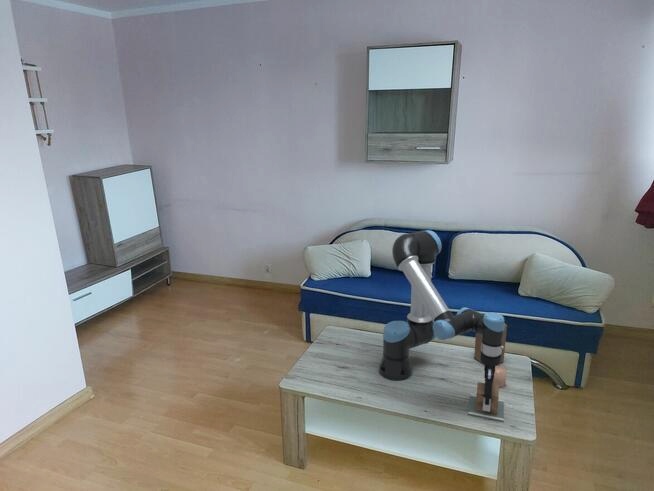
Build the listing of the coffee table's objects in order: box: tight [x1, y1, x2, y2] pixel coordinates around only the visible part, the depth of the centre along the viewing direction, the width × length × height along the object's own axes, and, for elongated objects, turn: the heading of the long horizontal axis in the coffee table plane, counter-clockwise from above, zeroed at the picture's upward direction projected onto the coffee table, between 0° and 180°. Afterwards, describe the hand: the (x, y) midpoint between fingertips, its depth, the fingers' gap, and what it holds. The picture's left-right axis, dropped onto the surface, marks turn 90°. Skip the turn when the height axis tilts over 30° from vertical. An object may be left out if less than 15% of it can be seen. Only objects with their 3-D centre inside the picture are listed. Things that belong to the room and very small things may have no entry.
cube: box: [475, 381, 500, 415], centre depth 173 cm, size 8×8×8 cm
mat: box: [467, 394, 505, 423], centre depth 174 cm, size 13×13×1 cm
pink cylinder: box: [492, 365, 507, 389], centre depth 190 cm, size 6×6×7 cm
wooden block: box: [473, 322, 508, 365], centre depth 206 cm, size 10×10×20 cm
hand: (486, 403), depth 173 cm, fingers open, 8 cm apart
